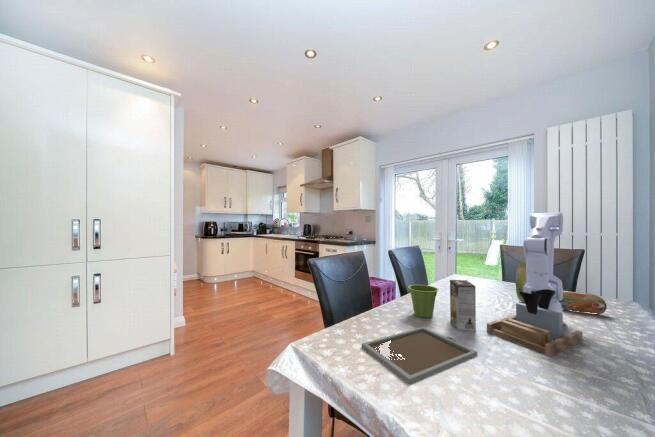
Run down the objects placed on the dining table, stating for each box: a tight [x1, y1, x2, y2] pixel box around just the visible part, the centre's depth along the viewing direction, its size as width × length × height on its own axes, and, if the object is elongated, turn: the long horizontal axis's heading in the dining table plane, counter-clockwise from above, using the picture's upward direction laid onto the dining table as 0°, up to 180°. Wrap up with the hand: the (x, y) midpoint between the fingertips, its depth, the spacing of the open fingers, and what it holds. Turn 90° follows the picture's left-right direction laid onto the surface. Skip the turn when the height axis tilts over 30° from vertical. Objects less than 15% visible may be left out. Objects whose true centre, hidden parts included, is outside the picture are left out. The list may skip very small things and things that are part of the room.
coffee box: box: [449, 279, 477, 332], centre depth 89 cm, size 9×6×16 cm
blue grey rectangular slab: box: [515, 302, 564, 341], centre depth 82 cm, size 2×12×9 cm, turn 26°
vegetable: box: [515, 261, 527, 304], centre depth 115 cm, size 6×6×20 cm
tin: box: [559, 291, 608, 315], centre depth 103 cm, size 15×3×8 cm, turn 58°
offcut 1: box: [501, 321, 545, 347], centre depth 77 cm, size 2×11×4 cm, turn 26°
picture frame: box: [361, 326, 478, 385], centre depth 71 cm, size 19×2×30 cm
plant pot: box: [407, 284, 439, 318], centre depth 99 cm, size 12×12×11 cm
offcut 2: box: [507, 319, 551, 344], centre depth 79 cm, size 2×11×4 cm, turn 26°
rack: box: [486, 314, 584, 357], centre depth 80 cm, size 22×17×3 cm
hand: (537, 311), depth 82 cm, fingers open, 7 cm apart
